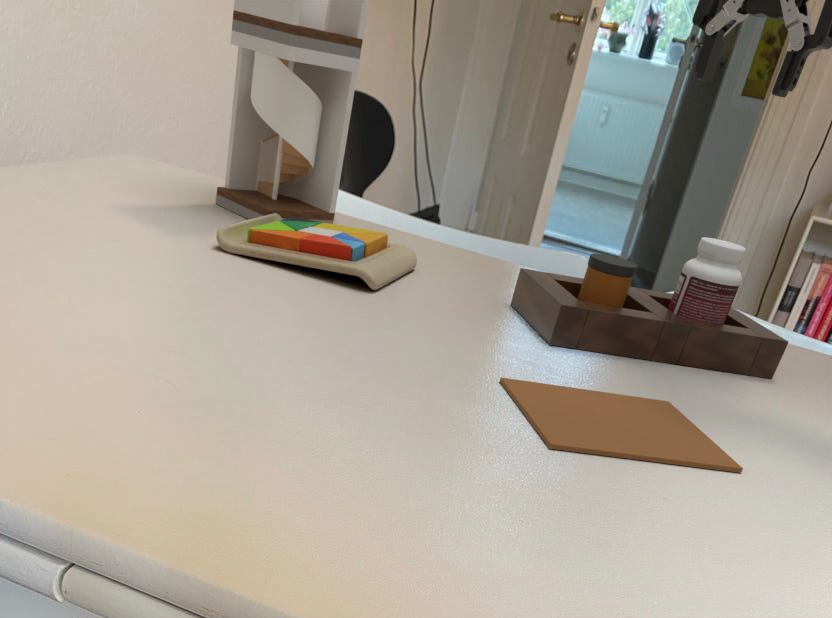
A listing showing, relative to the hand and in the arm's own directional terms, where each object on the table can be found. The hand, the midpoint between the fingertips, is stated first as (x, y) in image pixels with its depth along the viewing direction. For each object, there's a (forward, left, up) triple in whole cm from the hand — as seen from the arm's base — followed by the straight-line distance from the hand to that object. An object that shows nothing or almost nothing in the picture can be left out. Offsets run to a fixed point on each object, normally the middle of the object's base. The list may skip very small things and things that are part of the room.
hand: (739, 88), depth 93 cm
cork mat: (+19, +36, -24) cm, 47 cm away
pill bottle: (0, +8, -25) cm, 26 cm away
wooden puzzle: (+39, -6, -25) cm, 47 cm away
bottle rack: (+5, +8, -24) cm, 26 cm away
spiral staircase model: (+43, -26, -25) cm, 56 cm away
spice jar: (+11, +8, -24) cm, 28 cm away
